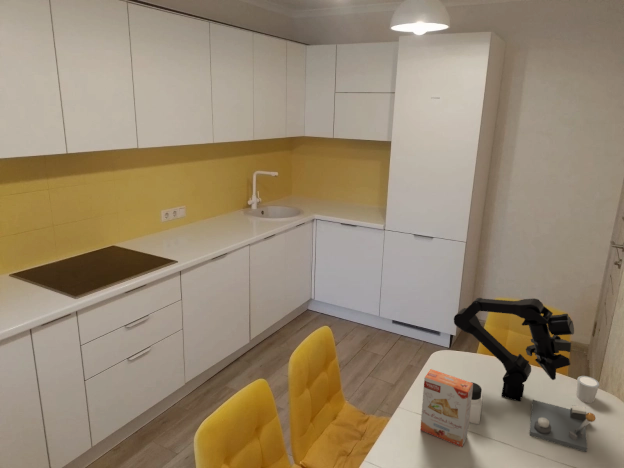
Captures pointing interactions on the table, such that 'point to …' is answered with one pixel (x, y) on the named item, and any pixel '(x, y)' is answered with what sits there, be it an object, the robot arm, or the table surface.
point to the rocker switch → (579, 409)
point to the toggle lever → (585, 422)
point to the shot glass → (586, 388)
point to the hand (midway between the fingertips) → (553, 379)
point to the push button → (543, 422)
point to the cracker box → (446, 407)
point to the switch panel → (558, 425)
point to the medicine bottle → (476, 404)
